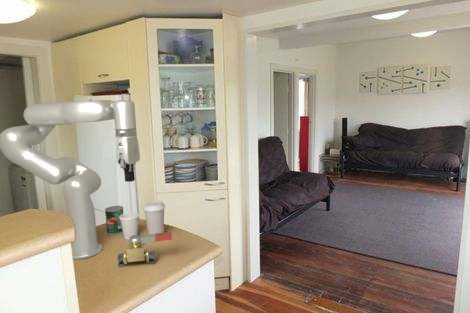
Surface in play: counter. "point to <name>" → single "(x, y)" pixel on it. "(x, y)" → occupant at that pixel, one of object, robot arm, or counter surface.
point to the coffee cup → (154, 216)
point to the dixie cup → (129, 224)
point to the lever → (150, 238)
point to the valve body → (136, 255)
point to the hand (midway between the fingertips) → (129, 180)
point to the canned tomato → (114, 219)
